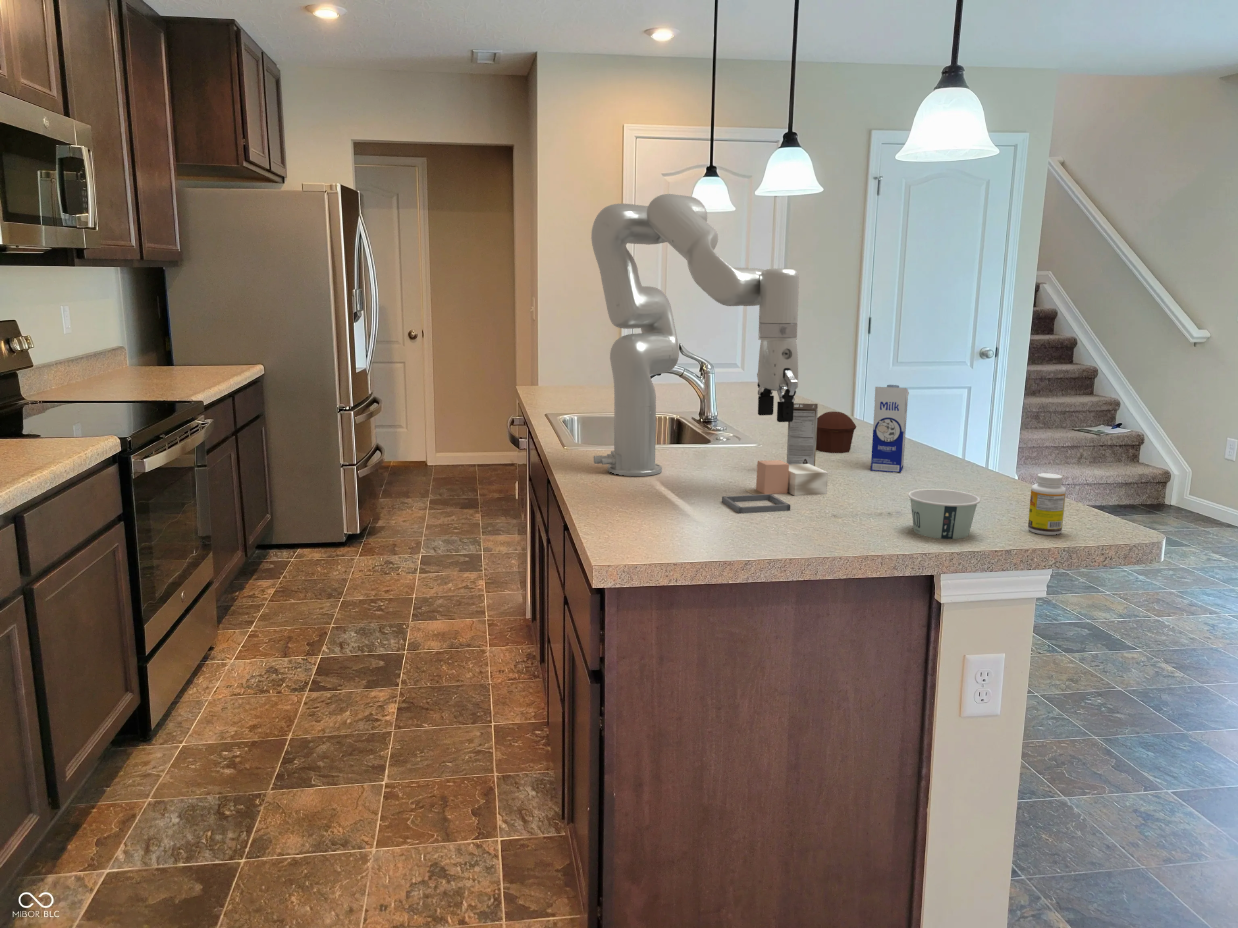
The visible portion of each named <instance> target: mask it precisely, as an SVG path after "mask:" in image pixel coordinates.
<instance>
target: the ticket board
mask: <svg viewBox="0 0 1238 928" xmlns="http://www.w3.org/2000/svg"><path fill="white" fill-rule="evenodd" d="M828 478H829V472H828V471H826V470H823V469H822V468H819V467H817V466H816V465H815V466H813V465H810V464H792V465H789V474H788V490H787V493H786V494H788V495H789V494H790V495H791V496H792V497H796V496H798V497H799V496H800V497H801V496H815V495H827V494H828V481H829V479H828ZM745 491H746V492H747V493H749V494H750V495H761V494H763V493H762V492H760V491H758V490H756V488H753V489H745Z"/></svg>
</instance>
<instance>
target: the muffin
mask: <svg viewBox="0 0 1238 928" xmlns="http://www.w3.org/2000/svg"><path fill="white" fill-rule="evenodd" d="M856 428H857V425H856V424H855V422H854V420H853V419H852V418H851V417H850V416H849V415H847V414H846V413H844V412H842V411H841V412H840V411H827V412H824V413H822V414H821V415H819V416H817V438H816V452H820V453H827V454H844V453H845V454H846V453H850V451H851V448H852V447H851V446H852V443H853V437H854V434H855V433H854V432H855V430H856Z"/></svg>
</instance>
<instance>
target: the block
mask: <svg viewBox="0 0 1238 928" xmlns="http://www.w3.org/2000/svg"><path fill="white" fill-rule="evenodd" d="M788 474H789V464H787V462H785V461H783V460H780V459H778V460H777V459H775V460H774V459H773V460H768V459H767V460H757V464H756V483H755V484H756V485H755V489H756V490H758V491H760V492H762V493H763V494H772V495H775V494H777V495H781V494H788V493H787V490H788Z"/></svg>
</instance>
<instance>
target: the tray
mask: <svg viewBox="0 0 1238 928" xmlns="http://www.w3.org/2000/svg"><path fill="white" fill-rule="evenodd" d="M761 501H762V502H763V501H770V502H772V503H773V504H767V505H748V506H741V505H739V504H737V503H743V502H761ZM721 502H722V503H723V504H724V505H725V506H727V507H729V508H730V509H732V510H733V511H734V512H736V513H737V514H752V513H755V514H756V513H757V514H758V513H771V512H772V513H773V512H774V513H775V512H789V511H791V504H789V503H788V502H786V501H784V500H783V499H781V498H779V497H777V496H776V495H775V494H761V495H752V494H746V495H745V494H743V495H728V496H727V495H726V496H721Z"/></svg>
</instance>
